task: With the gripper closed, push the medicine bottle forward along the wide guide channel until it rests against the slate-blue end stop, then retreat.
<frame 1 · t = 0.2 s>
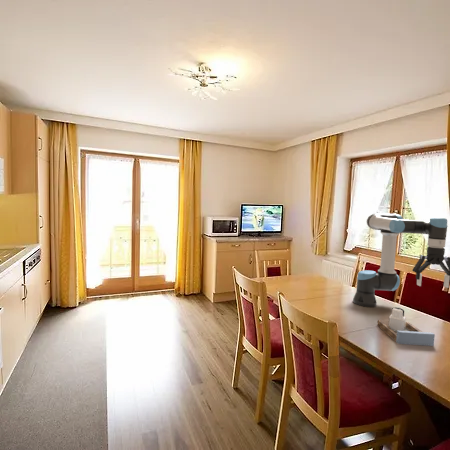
hand: (432, 286, 151), 27 cm above the table, fingers open, 13 cm apart
end stop: (414, 343, 143), on the table
medicine bottle: (396, 329, 160), on the table
guide channel: (402, 333, 154), on the table
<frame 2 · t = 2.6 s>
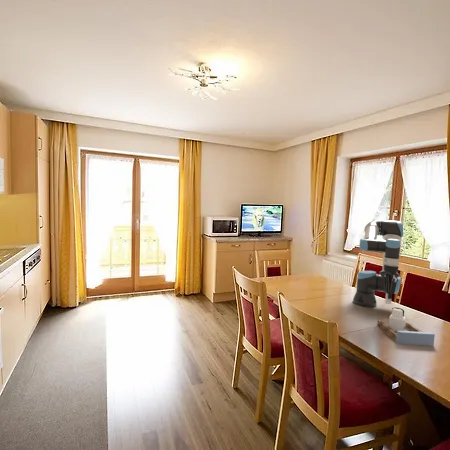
hand: (388, 303, 170), 11 cm above the table, fingers closed
nothing on the table moved.
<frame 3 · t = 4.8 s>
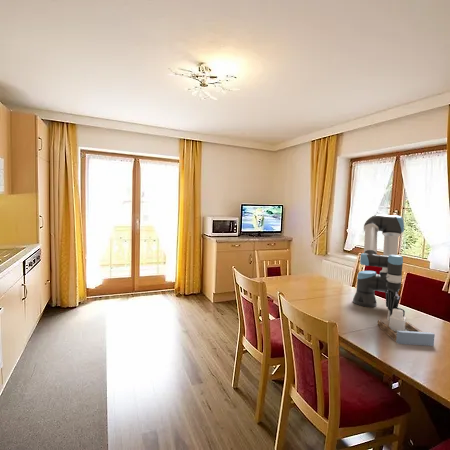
hand: (390, 320, 167), 2 cm above the table, fingers closed
medicine bottle: (396, 329, 160), on the table, touching gripper
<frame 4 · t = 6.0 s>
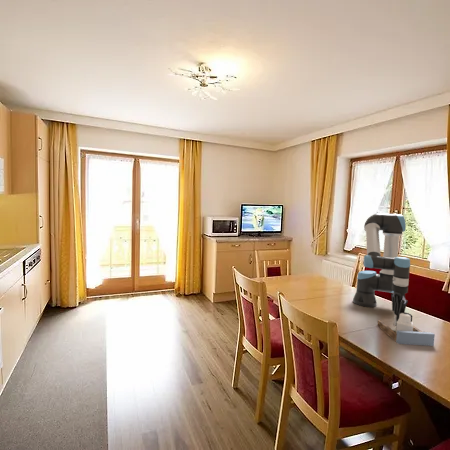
hand: (396, 325, 160), 2 cm above the table, fingers closed
medicine bottle: (403, 335, 153), on the table, touching gripper
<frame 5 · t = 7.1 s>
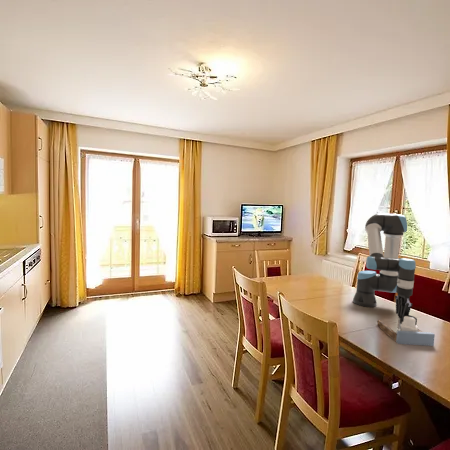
hand: (400, 328, 156), 2 cm above the table, fingers closed
medicine bottle: (408, 338, 149), on the table, touching end stop, gripper, hand
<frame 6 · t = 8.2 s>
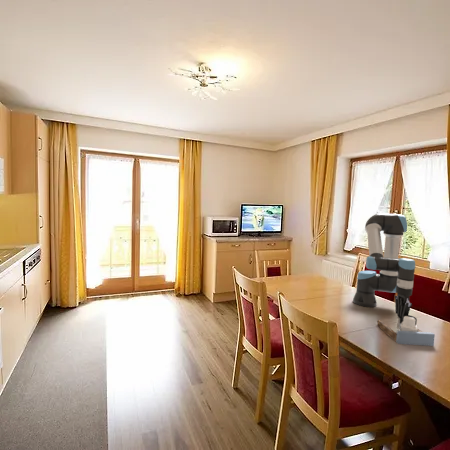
hand: (399, 328, 156), 2 cm above the table, fingers closed
nothing on the table moved.
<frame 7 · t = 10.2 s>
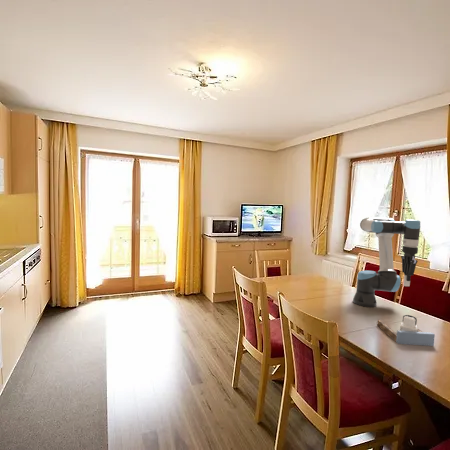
hand: (406, 285, 166), 23 cm above the table, fingers closed
medicine bottle: (408, 338, 149), on the table
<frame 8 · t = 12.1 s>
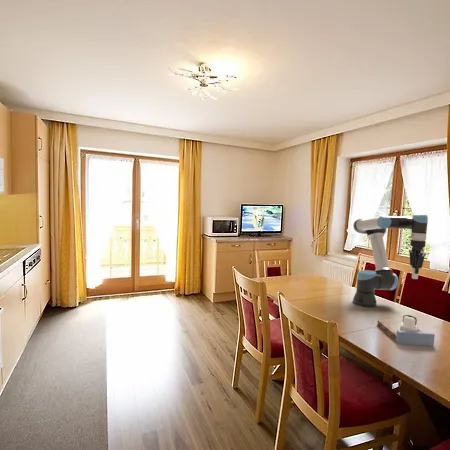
hand: (414, 278, 171), 26 cm above the table, fingers closed
nothing on the table moved.
at the end: medicine bottle inside the target area (0.8 cm from its centre), on the table; medicine bottle tilted 0° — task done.
